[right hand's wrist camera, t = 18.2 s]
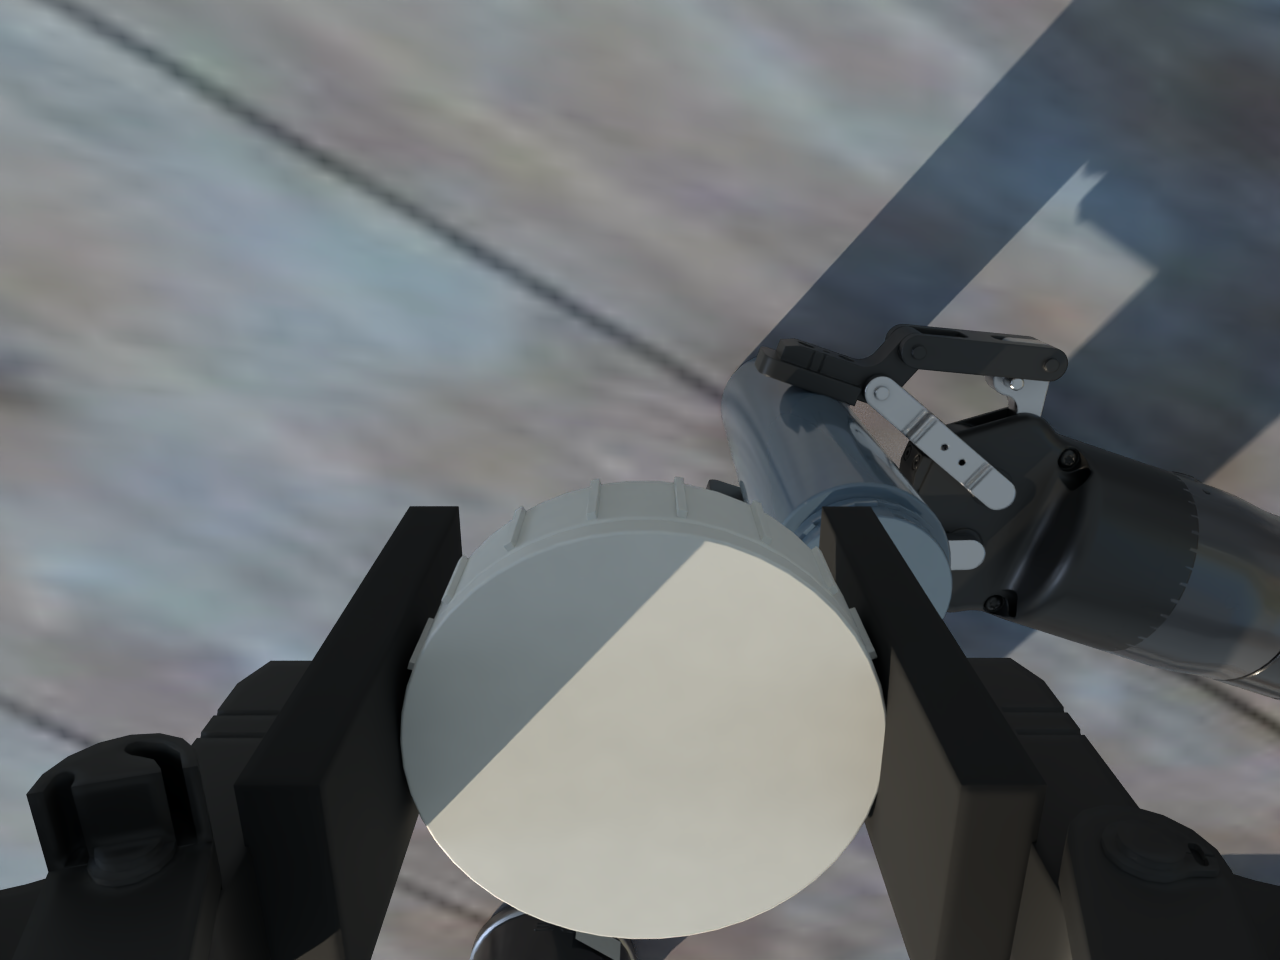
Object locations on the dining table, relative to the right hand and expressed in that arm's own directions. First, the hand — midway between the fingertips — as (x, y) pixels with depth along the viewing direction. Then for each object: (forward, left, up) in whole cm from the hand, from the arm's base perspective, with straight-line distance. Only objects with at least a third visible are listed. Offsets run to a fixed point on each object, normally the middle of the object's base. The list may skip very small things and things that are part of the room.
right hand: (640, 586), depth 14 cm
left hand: (+3, +3, -20) cm, 21 cm away
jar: (+4, +6, -27) cm, 28 cm away
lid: (0, 0, +4) cm, 4 cm away
